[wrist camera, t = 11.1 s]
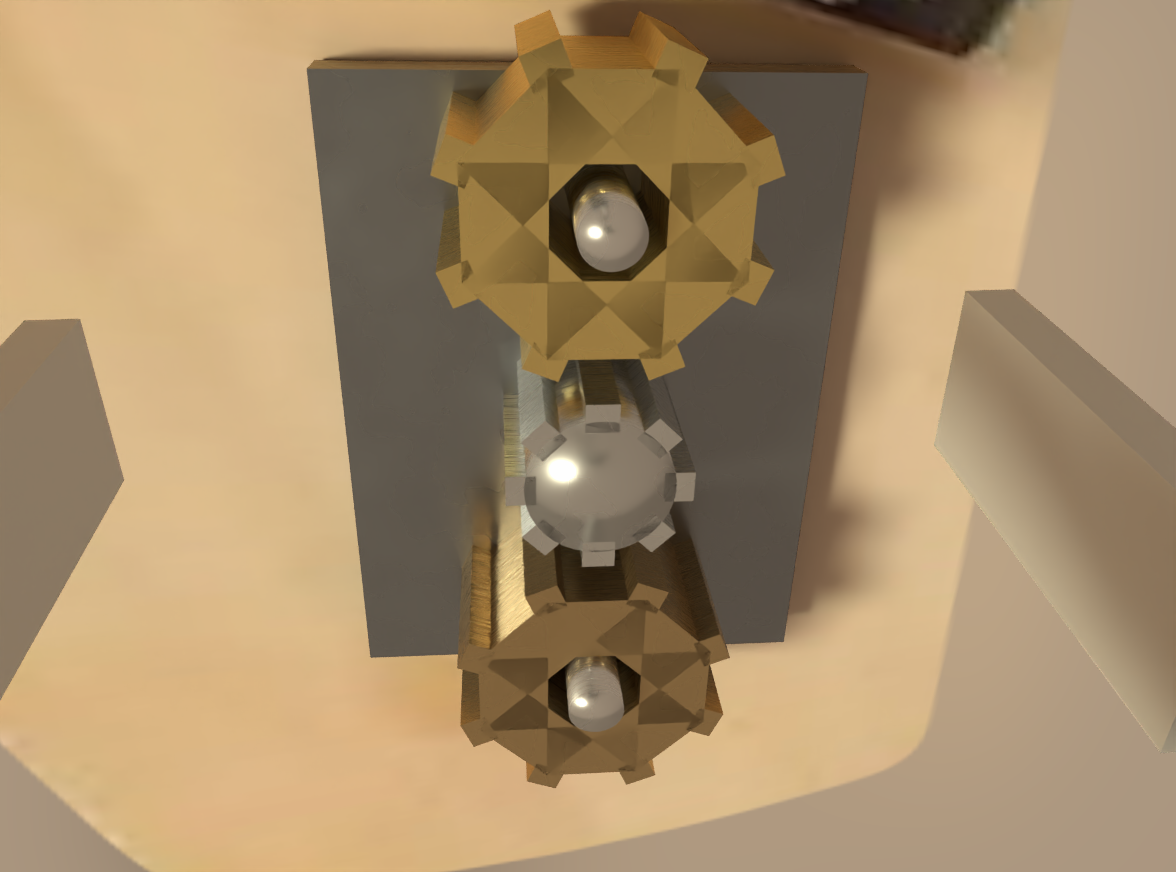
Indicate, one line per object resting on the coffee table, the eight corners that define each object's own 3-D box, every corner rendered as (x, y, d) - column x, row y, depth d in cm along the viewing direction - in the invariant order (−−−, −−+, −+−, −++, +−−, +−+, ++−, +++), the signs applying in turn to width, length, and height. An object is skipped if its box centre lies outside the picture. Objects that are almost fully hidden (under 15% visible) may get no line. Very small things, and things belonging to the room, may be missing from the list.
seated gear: (458, 494, 40) (452, 589, 35) (707, 487, 41) (739, 579, 35) (467, 684, 45) (464, 792, 39) (689, 675, 45) (715, 780, 40)
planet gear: (434, 8, 31) (422, 36, 26) (750, 12, 32) (801, 40, 27) (449, 309, 36) (441, 384, 31) (723, 306, 37) (762, 378, 32)
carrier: (314, 60, 33) (262, 116, 26) (853, 64, 35) (952, 119, 27) (374, 632, 45) (350, 786, 37) (774, 618, 46) (828, 763, 39)
